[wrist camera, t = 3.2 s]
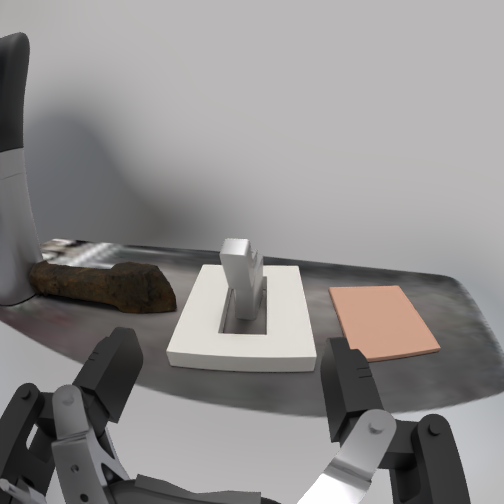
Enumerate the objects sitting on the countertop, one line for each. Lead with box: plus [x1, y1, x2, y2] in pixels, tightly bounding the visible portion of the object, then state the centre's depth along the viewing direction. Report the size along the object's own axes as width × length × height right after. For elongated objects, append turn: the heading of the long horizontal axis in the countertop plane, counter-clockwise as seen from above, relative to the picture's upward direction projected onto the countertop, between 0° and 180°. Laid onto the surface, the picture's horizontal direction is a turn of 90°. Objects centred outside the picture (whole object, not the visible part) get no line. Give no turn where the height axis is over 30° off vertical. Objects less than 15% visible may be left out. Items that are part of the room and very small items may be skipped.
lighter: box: [220, 238, 263, 320], centre depth 22 cm, size 7×2×8 cm, turn 169°
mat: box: [329, 286, 440, 362], centre depth 22 cm, size 8×10×1 cm
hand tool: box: [29, 260, 177, 313], centre depth 23 cm, size 19×4×5 cm, turn 81°
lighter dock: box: [167, 265, 317, 372], centre depth 23 cm, size 10×13×2 cm
